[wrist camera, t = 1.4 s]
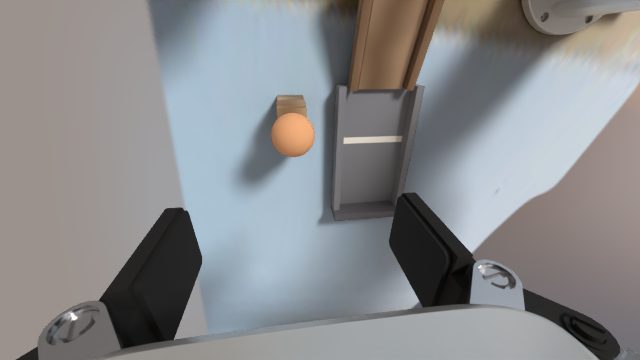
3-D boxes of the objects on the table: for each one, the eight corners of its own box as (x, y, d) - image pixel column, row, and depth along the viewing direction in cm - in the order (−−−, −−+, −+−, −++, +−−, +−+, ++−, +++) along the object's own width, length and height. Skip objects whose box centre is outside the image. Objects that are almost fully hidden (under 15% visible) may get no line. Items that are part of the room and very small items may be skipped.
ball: (312, 108, 23) (317, 118, 20) (312, 147, 25) (317, 162, 22) (270, 108, 23) (267, 119, 19) (273, 148, 25) (272, 164, 21)
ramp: (429, -49, 23) (468, -75, 18) (405, 87, 29) (430, 96, 24) (354, -54, 22) (374, -83, 17) (346, 88, 28) (359, 97, 23)
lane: (416, 84, 29) (429, 87, 26) (393, 203, 37) (401, 215, 34) (335, 84, 27) (341, 88, 25) (331, 208, 36) (334, 221, 33)
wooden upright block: (302, 95, 27) (306, 104, 23) (303, 136, 30) (307, 152, 25) (277, 95, 27) (276, 105, 22) (280, 136, 29) (279, 153, 25)
